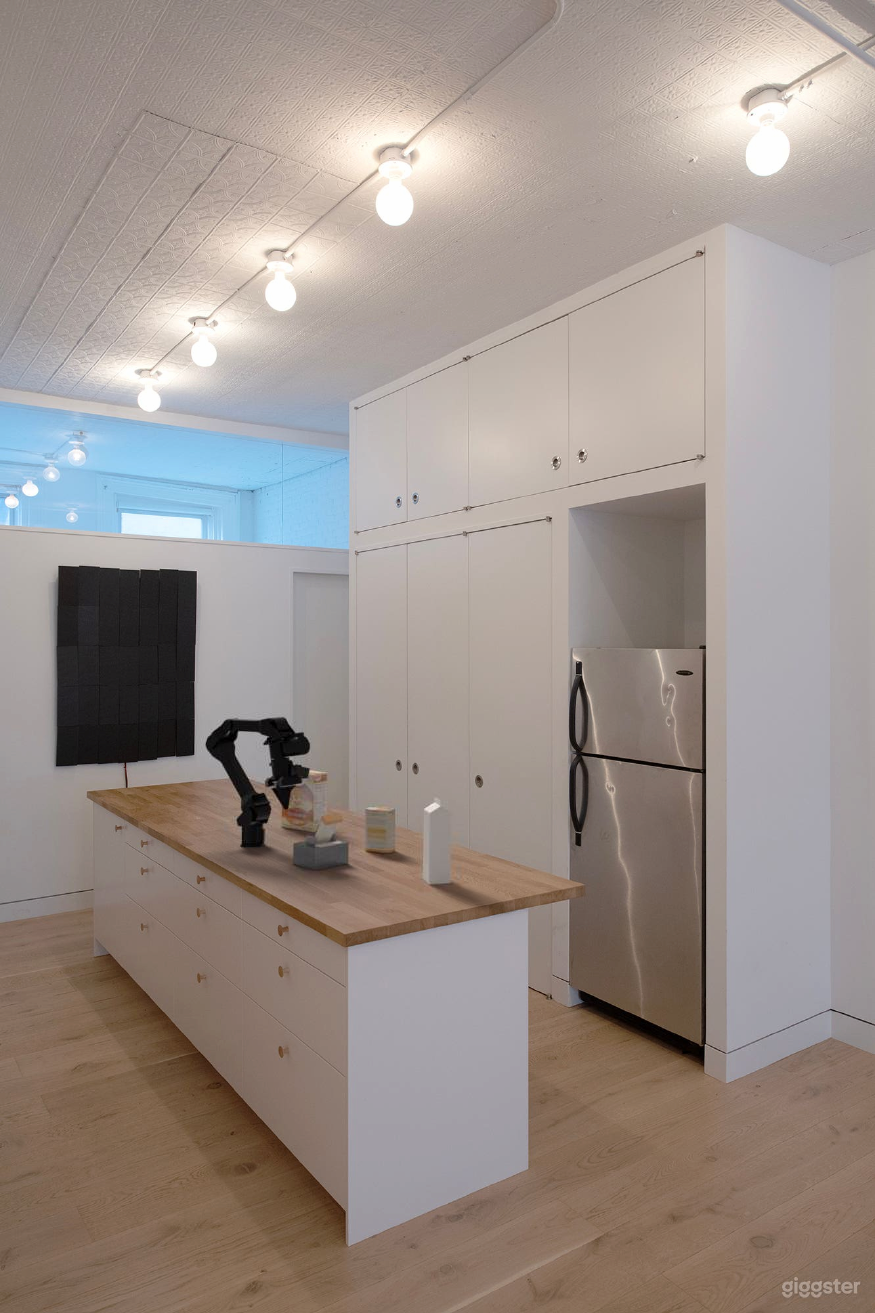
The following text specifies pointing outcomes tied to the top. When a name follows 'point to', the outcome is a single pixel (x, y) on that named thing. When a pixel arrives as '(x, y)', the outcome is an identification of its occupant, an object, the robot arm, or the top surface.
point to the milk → (437, 844)
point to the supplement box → (380, 829)
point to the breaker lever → (327, 827)
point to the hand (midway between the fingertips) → (286, 809)
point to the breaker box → (320, 853)
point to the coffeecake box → (307, 803)
